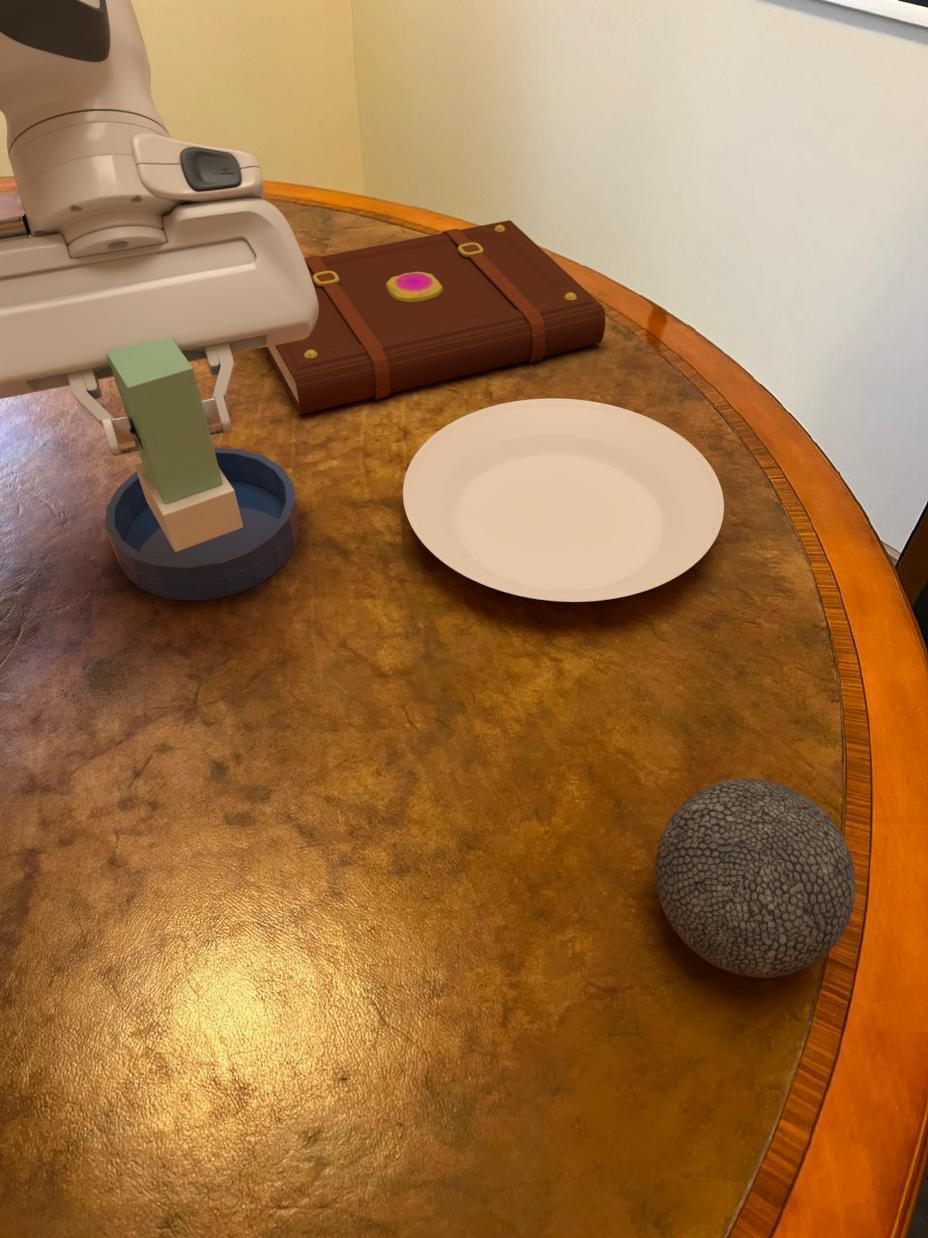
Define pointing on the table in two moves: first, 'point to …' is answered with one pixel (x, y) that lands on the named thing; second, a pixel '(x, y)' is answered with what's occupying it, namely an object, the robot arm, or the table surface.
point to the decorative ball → (755, 878)
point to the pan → (218, 560)
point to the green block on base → (174, 444)
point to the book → (432, 315)
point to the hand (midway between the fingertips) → (173, 441)
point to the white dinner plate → (563, 500)
